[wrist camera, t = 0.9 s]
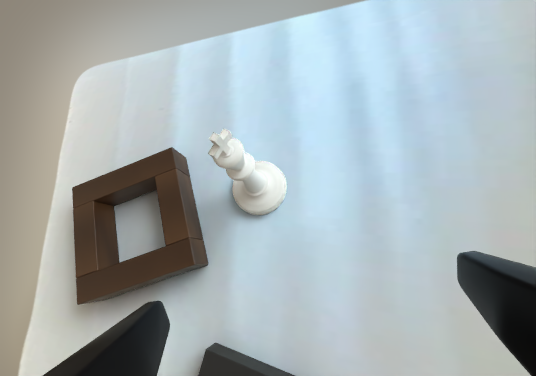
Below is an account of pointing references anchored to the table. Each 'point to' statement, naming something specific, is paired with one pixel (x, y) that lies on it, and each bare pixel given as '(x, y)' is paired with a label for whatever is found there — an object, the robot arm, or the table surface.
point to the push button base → (234, 364)
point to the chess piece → (249, 175)
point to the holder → (104, 228)
